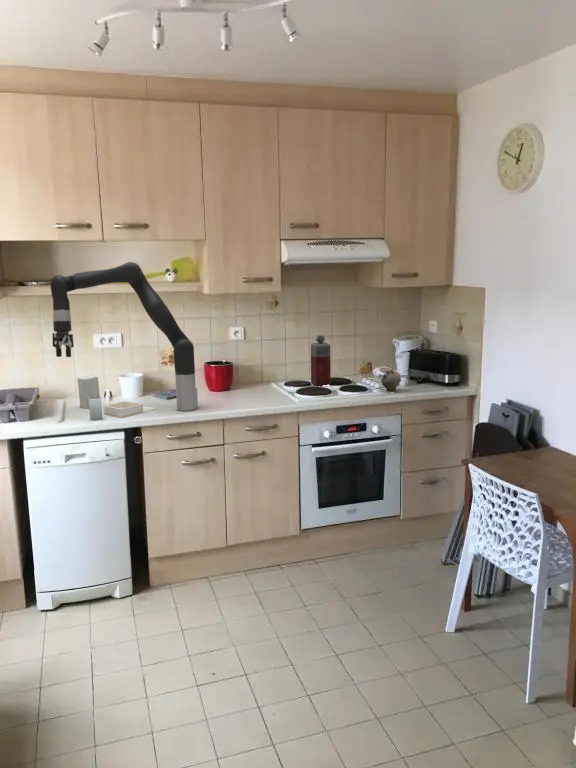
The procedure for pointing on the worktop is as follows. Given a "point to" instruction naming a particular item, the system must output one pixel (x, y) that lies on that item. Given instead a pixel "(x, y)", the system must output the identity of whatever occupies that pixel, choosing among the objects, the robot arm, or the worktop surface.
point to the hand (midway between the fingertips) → (63, 356)
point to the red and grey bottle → (320, 362)
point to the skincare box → (87, 389)
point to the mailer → (125, 409)
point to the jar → (95, 407)
